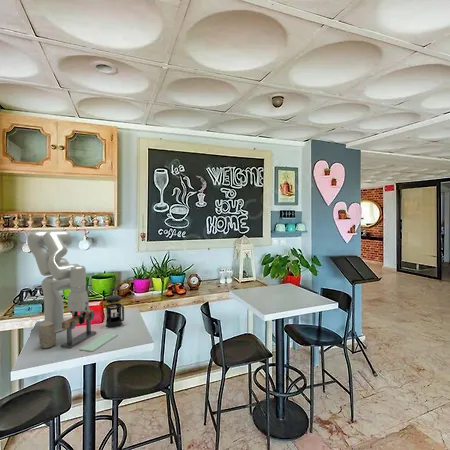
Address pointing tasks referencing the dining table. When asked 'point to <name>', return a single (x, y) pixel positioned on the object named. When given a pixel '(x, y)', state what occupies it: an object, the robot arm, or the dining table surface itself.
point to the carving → (47, 334)
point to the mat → (98, 342)
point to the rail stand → (79, 338)
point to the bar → (67, 323)
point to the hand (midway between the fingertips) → (79, 323)
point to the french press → (115, 317)
